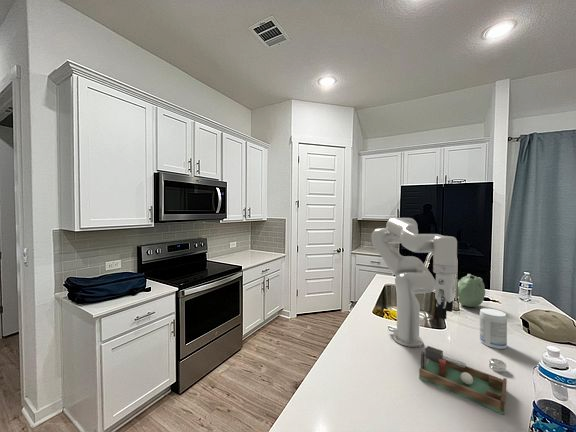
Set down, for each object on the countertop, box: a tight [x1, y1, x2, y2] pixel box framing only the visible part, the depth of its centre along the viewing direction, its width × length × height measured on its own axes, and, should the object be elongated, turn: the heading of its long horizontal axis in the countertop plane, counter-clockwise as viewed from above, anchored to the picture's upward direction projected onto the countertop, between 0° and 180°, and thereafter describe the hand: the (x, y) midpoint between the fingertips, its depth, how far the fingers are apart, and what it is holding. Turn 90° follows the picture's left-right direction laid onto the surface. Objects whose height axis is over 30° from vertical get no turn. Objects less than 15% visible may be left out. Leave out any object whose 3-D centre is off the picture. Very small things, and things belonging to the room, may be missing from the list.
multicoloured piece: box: [424, 345, 467, 377], centre depth 89 cm, size 12×3×7 cm, turn 46°
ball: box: [460, 372, 473, 385], centre depth 85 cm, size 4×4×4 cm
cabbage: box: [457, 273, 486, 308], centre depth 158 cm, size 16×19×20 cm
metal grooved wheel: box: [488, 358, 507, 374], centre depth 95 cm, size 5×3×5 cm
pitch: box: [418, 351, 508, 416], centre depth 86 cm, size 24×14×6 cm, turn 46°
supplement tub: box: [479, 307, 508, 350], centre depth 112 cm, size 10×10×15 cm
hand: (444, 314), depth 93 cm, fingers open, 9 cm apart
